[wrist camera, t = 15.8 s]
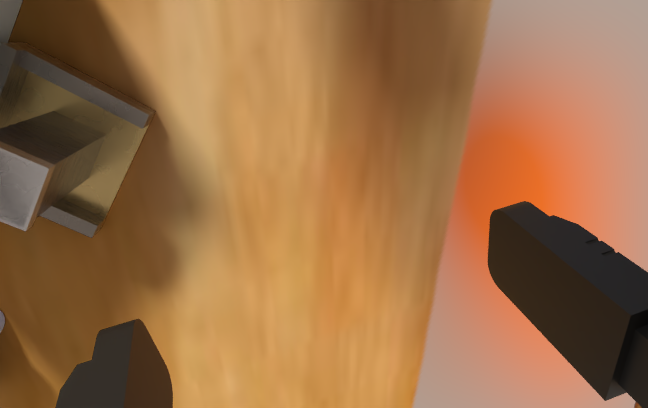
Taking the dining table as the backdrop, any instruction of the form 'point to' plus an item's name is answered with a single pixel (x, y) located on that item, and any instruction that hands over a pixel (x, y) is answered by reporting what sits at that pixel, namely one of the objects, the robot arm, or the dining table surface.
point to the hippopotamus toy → (2, 321)
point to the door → (8, 18)
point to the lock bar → (43, 164)
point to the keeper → (84, 107)
